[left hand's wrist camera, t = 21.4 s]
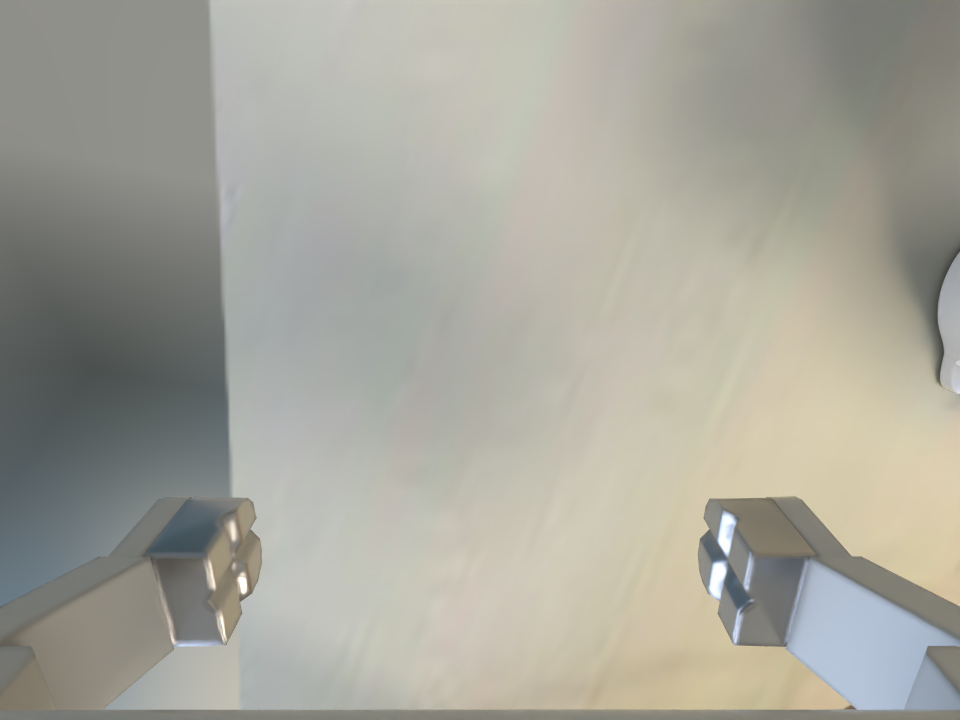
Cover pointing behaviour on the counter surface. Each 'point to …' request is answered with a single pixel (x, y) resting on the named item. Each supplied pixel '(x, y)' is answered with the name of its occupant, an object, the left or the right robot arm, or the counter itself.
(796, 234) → the counter surface
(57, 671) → the left robot arm
